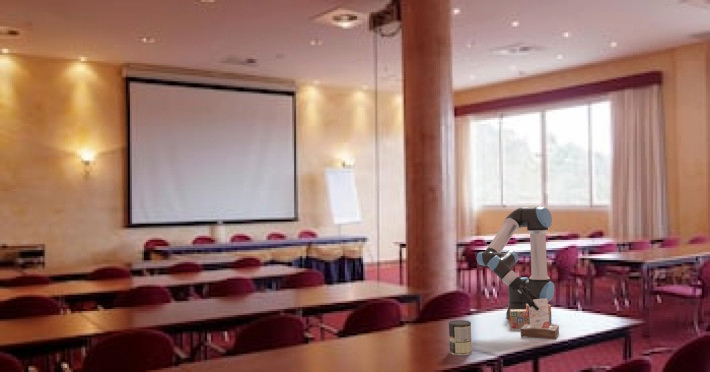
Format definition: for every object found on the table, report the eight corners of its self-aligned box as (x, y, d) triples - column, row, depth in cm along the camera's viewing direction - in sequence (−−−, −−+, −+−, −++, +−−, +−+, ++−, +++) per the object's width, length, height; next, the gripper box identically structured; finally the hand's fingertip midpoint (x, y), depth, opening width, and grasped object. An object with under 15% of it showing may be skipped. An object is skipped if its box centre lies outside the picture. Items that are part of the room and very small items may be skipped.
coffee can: (445, 353, 293) (444, 323, 294) (456, 349, 301) (455, 319, 302) (465, 356, 287) (463, 325, 287) (476, 351, 295) (475, 321, 295)
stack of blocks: (511, 328, 343) (510, 305, 344) (510, 326, 350) (509, 303, 350) (552, 328, 341) (551, 305, 341) (549, 325, 347) (548, 303, 347)
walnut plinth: (525, 331, 334) (525, 323, 334) (558, 333, 327) (558, 325, 327) (520, 336, 322) (520, 328, 322) (555, 338, 315) (555, 330, 315)
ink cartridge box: (544, 325, 328) (543, 296, 328) (549, 327, 323) (548, 298, 323) (529, 326, 326) (528, 298, 326) (534, 328, 321) (533, 299, 321)
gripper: (512, 282, 342) (543, 313, 335) (503, 289, 321) (536, 321, 314) (521, 273, 340) (553, 303, 333) (513, 278, 319) (546, 311, 312)
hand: (545, 312), depth 324 cm, fingers open, 10 cm apart
